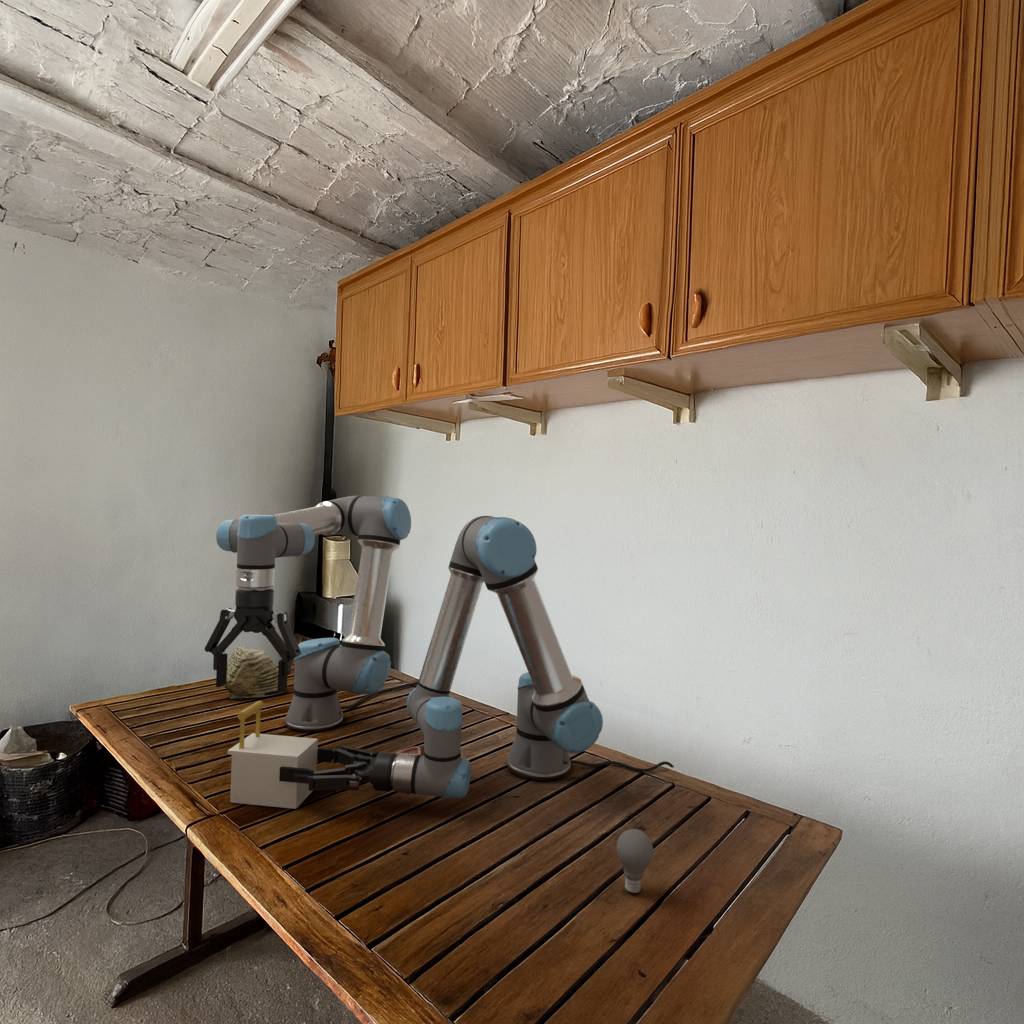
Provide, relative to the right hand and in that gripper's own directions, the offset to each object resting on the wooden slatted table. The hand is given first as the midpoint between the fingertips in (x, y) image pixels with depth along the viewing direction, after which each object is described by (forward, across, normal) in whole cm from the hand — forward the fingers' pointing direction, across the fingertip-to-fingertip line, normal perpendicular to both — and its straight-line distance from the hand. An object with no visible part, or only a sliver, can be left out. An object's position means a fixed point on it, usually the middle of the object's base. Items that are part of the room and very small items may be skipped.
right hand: (292, 762), depth 133 cm
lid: (+4, 0, +3) cm, 5 cm away
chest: (+4, 0, -7) cm, 8 cm away
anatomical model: (-16, +17, -7) cm, 25 cm away
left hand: (+10, 0, +15) cm, 18 cm away
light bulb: (-69, -20, -7) cm, 73 cm away
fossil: (+41, +61, -7) cm, 73 cm away
